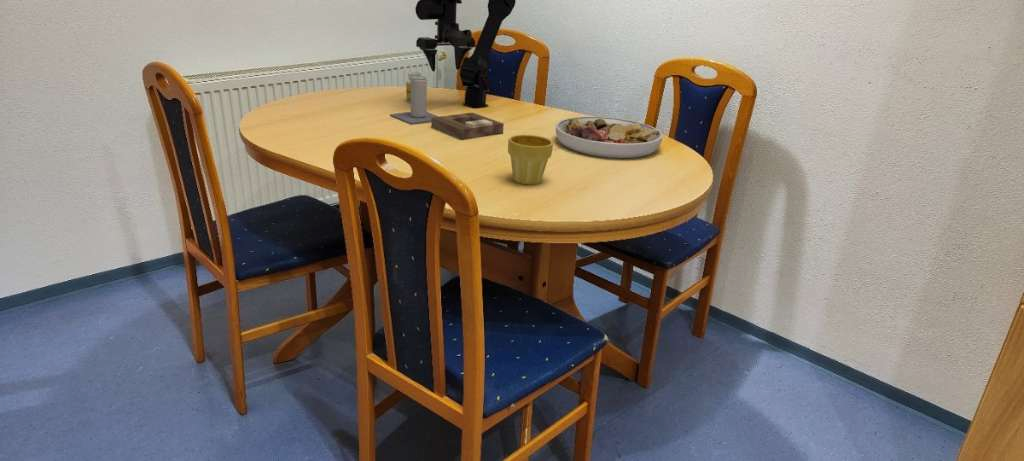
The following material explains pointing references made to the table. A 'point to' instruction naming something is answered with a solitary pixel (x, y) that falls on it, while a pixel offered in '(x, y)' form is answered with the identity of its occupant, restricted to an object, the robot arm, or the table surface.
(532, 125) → the table surface
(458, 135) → the puzzle board
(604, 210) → the table surface
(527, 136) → the plant pot
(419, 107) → the beverage can
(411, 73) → the supplement bottle
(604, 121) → the bowl
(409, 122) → the rubber mat
